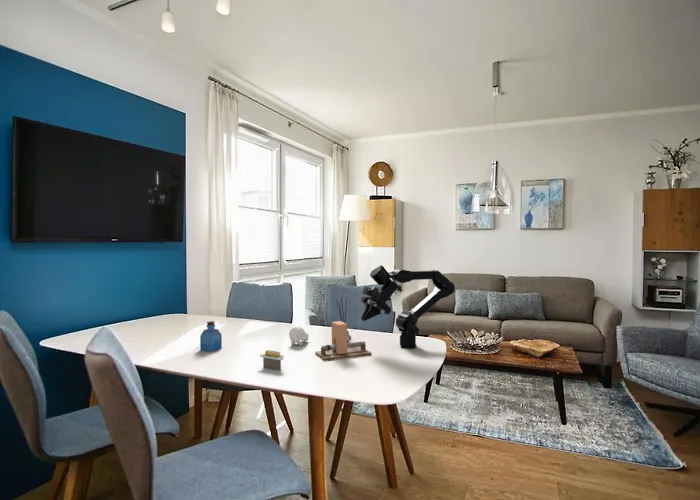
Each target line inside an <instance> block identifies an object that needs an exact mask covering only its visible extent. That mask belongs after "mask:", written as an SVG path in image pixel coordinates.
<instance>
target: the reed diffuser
mask: <svg viewBox="0 0 700 500" xmlns="http://www.w3.org/2000/svg"><path fill="white" fill-rule="evenodd" d="M347 300H348V298H346V299H345V304H347V302H348V301H347ZM340 301H341V302H338V301H337V300H335V302H336V306H337V309H338V312H339V315H340V319H341V320H340V321H341V322H344V320H345V319H346V314H347V308H344V306H343V305H341V304H340V303H343V300H342V298H341V299H340ZM340 307H341V308H340ZM341 309H342V311H341ZM344 309H345V313H342V312H344ZM351 339H352V336H351V335H350V334H349V330H347V341H349V340H351Z"/></svg>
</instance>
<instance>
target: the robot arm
mask: <svg viewBox="0 0 700 500" xmlns="http://www.w3.org/2000/svg"><path fill="white" fill-rule="evenodd" d="M369 276H370V278H371V279H372V280H373V281H374V283H376V284H377V285H378V286H381V287H380V288H379V289H378V288H377V287H376V286H372V287H370V286H367V285H365V286H364V287H363V290H362V292H361V293H362V294H363V296H361V298H360V299H359V300H360V301H361V303H363V304H364V305H365V307H364V310H363V313H362V315H361V320H362V321H363V322H366V321H368V320H370V319H372V318H374V317H377V316H378V315H382V311H384V312H383V313H384V314H385V315H388V316H389V315H390V313H391V312H392V309H391V307H390V306H389V305H388V303H387V302H388V301H389V302H390V301H391V300H392V299H391V297H392V296H393V295H394V293H395V292H400V293H401V292H402V290H403V289H402V285H400V284H405V283H410V282H411V281H417V280H420V281H421V280H431V281H432V284H433V285H434V287H433V289H432V292H431V293H430V294H428V295H427V296H426V297H425V298H424V299H422V300H421V301H420V302H419V303H418V304H417V305H415V306H414V308H412V309H411V310H409V311H408V310H404V309H403V310H402V312H401V313H400V314H397V317H396V319H395V326H396V327H397V329H398V331H399V332H401V333H400V335H399V346H400V348H402V349H417V341H416V340H417V337H416V336H417V335H418V334H419V333H420V329H419V328H418V327H417V324H418V320H419V319H420V317H422V316H423V315H424V314H425V313H427V312H428V311H429V310H430V309H431V308H432V307H434V305H436V303H438V302H439V301H440V300H442V299H445V298H448V297H450V296H451V295H453V294H454V292H455V291H456V286H455V283H453V282H452V281H450V280H449V279H448V278H447V277H446V276H444V274H443V273H442V272H441V271H439V270H434V269H432V270H413V271H412V270H408V269H407V270H406V269H401V268H400V269H399V268H396V269H395V268H394V269H393V270H392V271H390V272H389V271H388V270H387V269H385V267H384V266H383V265H381V264H380V265H379V266H377V267H376V268H374V269H373V270H371V272H370V273H369ZM398 283H400V284H398ZM364 295H365V296H364Z"/></svg>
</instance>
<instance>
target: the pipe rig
mask: <svg viewBox="0 0 700 500" xmlns="http://www.w3.org/2000/svg"><path fill="white" fill-rule="evenodd" d="M366 345H367V344H366V341H365V340H364V341H356V342H355V341H354V342H347V353H344V354H337V353H336V351H332V350H335V349H336V344H335V345H332V344H326V345H321V346H320V347H321V348H320V350H319V351H316V350H315V353H314V354H315V355H316V356H317V357H319V358H320V359H321V358H322V360H323V361H324V362H326V360H328V361H334V359H336V360H342V359H343V358H344V359H350V358H351V357H352V358H359V356H360V357H365V356H366V355H368V356H372V352H371V351H369V350H368V349H366V347H367V346H366Z"/></svg>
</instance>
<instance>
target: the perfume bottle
mask: <svg viewBox="0 0 700 500" xmlns="http://www.w3.org/2000/svg"><path fill="white" fill-rule="evenodd" d="M215 327H216V324H215V321H213V320H212V321H211V320H210V321H206V328H207V329H203V331H202V332H201V334H200V337H199V338H200V340H199V343H200V344H199V345H200V349H199V350H200V351H204V352H209V353H213V352H215V351H216V352H217V351H219V350H222V349H223V347H222V342H223V341H222V333H221V332H220V331H219V329H218V328H215Z"/></svg>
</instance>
